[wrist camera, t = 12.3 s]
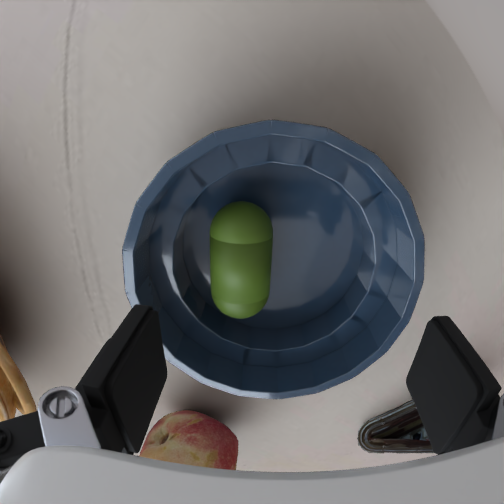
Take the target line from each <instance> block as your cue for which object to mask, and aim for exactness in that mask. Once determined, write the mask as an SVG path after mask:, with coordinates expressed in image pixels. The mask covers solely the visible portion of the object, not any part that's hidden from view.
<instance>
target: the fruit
mask: <svg viewBox="0 0 504 504" xmlns="http://www.w3.org/2000/svg"><path fill="white" fill-rule="evenodd" d="M139 456H140V457H145V458H150V459H155V460H160V461H166V462H172V463H179V464H185V465H192V466H200V467H208V468H217V469H227V470H236V463H237V456H238V440H237V437H236V436H235V435H234V433H233V432H232V431H231V430H230V429H229V428H228V427H227V426H225V425H224V424H223V423H221V422H219V421H218V420H216V419H214V418H211V417H209V416H207V415H205V414H202V413H200V412H196V411H191V410H183V411H176V412H174V413H170V414H168V415H166V416H164V417H163V418H161V419H160V420H159V421H158V422H157V423H156V424H155V425H154V426H153V428H152V429H151V430H150V432H149V434H148V436H147V438H146V440H145V443H144V445H143V447H142V450H141V452H140V455H139Z"/></svg>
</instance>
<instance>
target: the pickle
mask: <svg viewBox="0 0 504 504" xmlns="http://www.w3.org/2000/svg"><path fill="white" fill-rule="evenodd" d="M272 247H273V227H272V223H271V220H270V218H269V216H268V215H267V214H266V212H265V211H264V210H263V209H262V208H260V207H259V206H257V205H255V204H253V203H250V202H246V201H237V202H232V203H230V204H228V205H225V206H224V207H223V208H221V209H220V210H219V211H218V212H217V213H216V215H215V216H214V218H213V220H212V223H211V226H210V280H211V295H212V299H213V301H214V303H215V305H216V306H217V308H218V309H219V310H220V311H221V312H222V313H224V314H225V315H227V316H230V317H233V318H238V319H243V318H248V317H251V316H253V315H255V314H257V313H258V312H259V311H261V310H262V308H263V307H264V306H265V305H266V303H267V300H268V298H269V293H270V280H271V264H272Z"/></svg>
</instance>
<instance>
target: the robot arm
mask: <svg viewBox="0 0 504 504" xmlns="http://www.w3.org/2000/svg"><path fill="white" fill-rule="evenodd" d="M166 379H167V366H166V361H165V354H164V348H163V342H162V335H161V328H160V321H159V314H158V311H155V310H154V309H153V307H152V306H149V305H139V304H135V305H134V306H133V308H132V309H131V311H130V312H129V313H128V315H127V316H126V318H125V319H124V320H123V322H122V323H121V325H120V326H119V328H118V329H117V330H116V332H115V333H114V335H113V336H112V338H111V339H109V340H108V341H107V342H106V343H105V345H104V346H103V347H102V349H101V350H100V352H99V353H98V355H97V356H96V358H95V359H94V361H93V362H92V364H91V365H90V367H89V368H88V370H87V371H86V373H85V374H84V376H83V377H82V379H81V380H80V382H79V383H78V385H77V386H76V388H75V389H74V388H71V387H66V386H60V387H55V388H52V389H50V390H48V391H47V392H45V393H44V394H43V395H42V397H41V398H40V400H39V402H38V411H35V412H32V413H28V414H25V415H22V416H19V417H15V418H12V419H9V420H5V421H2V422H0V504H504V394H503V395H502V396H501V397H500V396H499V395H498V393H499V392H500V390H501V386H500V385H499V383H498V382H497V380H496V379H495V377H494V376H493V374H492V373H491V372H490V370H489V369H488V367H487V366H486V365H485V363H484V362H483V360H482V359H481V358H480V356H479V355H478V354H477V352H476V351H475V350H474V348H473V347H472V346H471V344H470V343H469V342H468V340H467V339H466V338H465V336H464V335H463V334H462V332H461V331H460V330H459V329H458V327H457V326H456V325H455V324H454V322H453V321H452V320H451V319H450V317H448V316H435V317H433V318H432V319H431V321H429V322H428V323H427V325H426V328H425V331H424V334H423V337H422V340H421V342H420V345H419V348H418V350H417V353H416V355H415V358H414V360H413V363H412V365H411V368H410V370H409V373H408V375H407V378H406V384H407V387H408V390H409V392H410V394H411V396H412V399H413V401H414V404H415V406H416V408H417V411H418V413H419V416H420V418H421V420H422V423H423V425H424V428H425V430H426V433H427V436H428V438H429V441H430V443H431V446H432V449H433V451H434V452H435V453H436V454H438V455H436V456H432V457H427V458H422V459H418V460H412V461H407V462H402V463H396V464H389V465H383V466H376V467H368V468H359V469H349V470H337V471H320V472H256V471H239V470H227V469H217V468H208V467H200V466H192V465H185V464H179V463H172V462H166V461H160V460H155V459H150V458H145V457H140V456H135V455H133V454H134V453H138V452H139V451H140V448H141V446H142V443H143V440H144V437H145V435H146V432H147V429H148V427H149V424H150V421H151V418H152V416H153V413H154V410H155V408H156V405H157V403H158V400H159V397H160V395H161V392H162V389H163V387H164V384H165V382H166Z"/></svg>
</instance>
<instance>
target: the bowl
mask: <svg viewBox="0 0 504 504" xmlns="http://www.w3.org/2000/svg"><path fill="white" fill-rule="evenodd" d="M237 201H246V202H250V203H253V204H255V205H257V206H259V207H260V208H262V209H263V210H264V211H265V212H266V214H267V215H268V216H269V218H270V220H271V223H272V227H273V247H272V264H271V280H270V293H269V298H268V300H267V303H266V305H265V306H264V307H263V308H262V310H261V311H259V312H258V313H257V314H255V315H253V316H251V317H248V318H243V319H238V318H233V317H230V316H227V315H225V314H224V313H222V312H221V311H220V310H219V309H218V308H217V306H216V305H215V303H214V301H213V299H212V295H211V280H210V226H211V223H212V220H213V218H214V216H215V215H216V213H217V212H218V211H219V210H220V209H221V208H223V207H224V206H225V205H228V204H230V203H232V202H237ZM424 251H425V244H424V234H423V231H422V228H421V225H420V222H419V219H418V216H417V214H416V211H415V208H414V205H413V202H412V200H411V197H410V195H409V193H408V191H407V190H406V189H405V187H404V186H403V185H402V184H401V182H400V181H399V180H398V179H397V178H396V176H395V175H394V174H393V173H392V172H391V170H390V169H389V168H388V167H387V166H386V165H385V163H384V162H383V161H382V160H381V159H380V158H379V157H378V155H376V154H375V153H373V152H372V151H370V150H368V149H366V148H365V147H363V146H361V145H359V144H358V143H356V142H354V141H352V140H350V139H349V138H347V137H345V136H343V135H341V134H339V133H337V132H335V131H334V130H332V129H329V128H327V127H321V126H315V125H308V124H302V123H295V122H287V121H279V120H265V121H260V122H255V123H250V124H245V125H241V126H236V127H232V128H227V129H223V130H219V131H215V132H214V133H211V134H209V135H207V136H206V137H204V138H202V139H201V140H199V141H198V142H196V143H194V144H193V145H191V146H190V147H188V148H187V149H185V150H184V151H182V152H180V153H179V154H177V155H176V156H174V157H173V158H171V159H170V160H168V161H167V163H165V164H164V165H163V167H162V168H161V169H160V171H159V172H158V173H157V175H156V176H155V177H154V179H153V180H152V181H151V183H150V184H149V185H148V187H147V188H146V189H145V191H144V192H143V193H142V195H141V196H140V197H139V199H138V200H137V202H136V204H135V206H134V209H133V213H132V216H131V219H130V223H129V226H128V230H127V233H126V237H125V240H124V244H123V249H122V254H123V270H124V283H125V292H126V295H127V298H128V300H129V303H130V305H131V307H132V308H133V306H134V305H135V304H139V305H149V306H152V307H153V309H154V310H155V311H158V314H159V321H160V328H161V335H162V342H163V348H164V354H165V359H166V360H167V361H168V362H170V363H171V364H172V365H174V366H175V367H177V368H178V369H180V370H181V371H183V372H184V373H186V374H187V375H189V376H190V377H192V378H194V379H195V380H197V381H198V382H200V383H202V384H204V385H207V386H210V387H212V388H215V389H218V390H221V391H224V392H227V393H230V394H233V395H236V396H242V397H253V398H265V399H284V398H291V397H297V396H304V395H309V394H315V393H319V392H321V391H324V390H326V389H329V388H331V387H333V386H336V385H338V384H340V383H343V382H345V381H347V380H350V379H352V378H353V377H355V376H357V375H358V374H359V373H361V372H362V371H363V370H365V369H366V368H367V367H369V366H370V365H371V364H372V363H374V362H375V361H376V360H378V359H379V358H380V357H381V356H383V355H384V354H385V353H386V352H387V351H388V350H389V348H390V347H391V346H392V344H393V343H394V342H395V340H396V339H397V338H398V336H399V335H400V334H401V332H402V331H403V330H404V328H405V327H406V325H407V324H408V323H409V321H410V319H411V316H412V314H413V311H414V308H415V305H416V303H417V300H418V297H419V294H420V291H421V288H422V285H423V281H424Z"/></svg>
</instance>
